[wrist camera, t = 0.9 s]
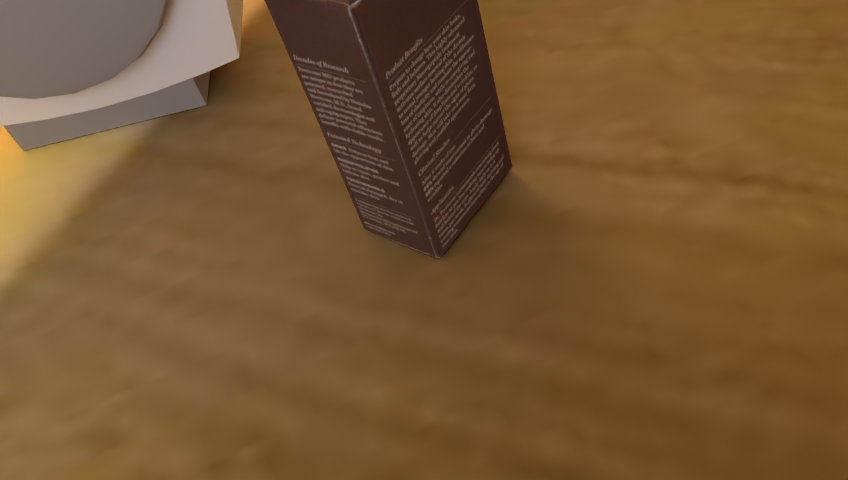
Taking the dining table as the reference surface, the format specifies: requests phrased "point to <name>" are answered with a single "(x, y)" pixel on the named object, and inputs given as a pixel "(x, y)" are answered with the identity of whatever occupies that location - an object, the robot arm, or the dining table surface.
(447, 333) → the dining table surface
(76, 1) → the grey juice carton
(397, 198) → the box
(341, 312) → the dining table surface
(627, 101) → the dining table surface
